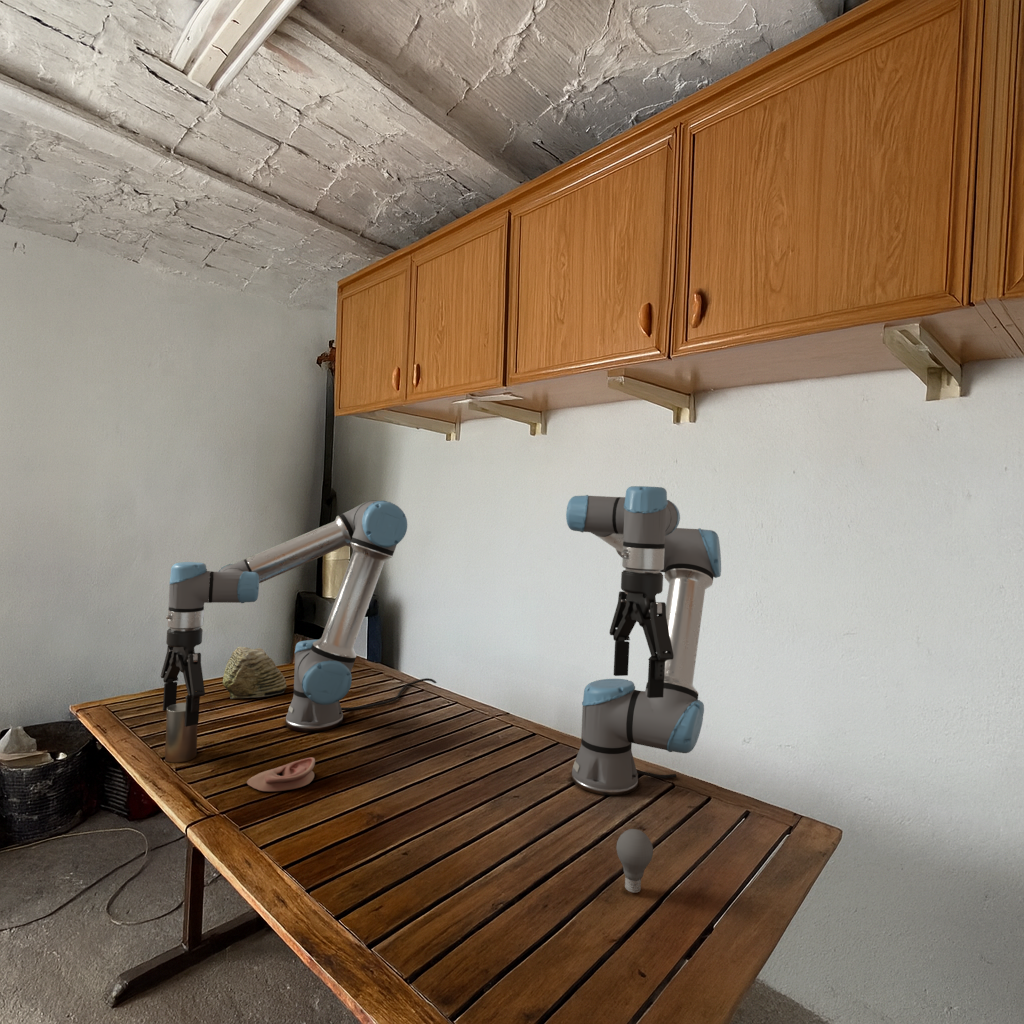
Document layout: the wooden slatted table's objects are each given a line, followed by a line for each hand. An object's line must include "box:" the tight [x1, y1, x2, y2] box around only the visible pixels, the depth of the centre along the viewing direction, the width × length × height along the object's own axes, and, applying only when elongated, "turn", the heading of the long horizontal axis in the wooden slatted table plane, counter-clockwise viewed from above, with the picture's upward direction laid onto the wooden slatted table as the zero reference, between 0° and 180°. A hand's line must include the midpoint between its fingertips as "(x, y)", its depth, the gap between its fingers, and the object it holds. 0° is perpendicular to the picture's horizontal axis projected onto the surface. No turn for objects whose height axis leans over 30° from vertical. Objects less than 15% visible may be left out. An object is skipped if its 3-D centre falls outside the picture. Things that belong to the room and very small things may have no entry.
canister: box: [164, 702, 199, 763], centre depth 150 cm, size 7×7×12 cm
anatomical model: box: [246, 757, 316, 792], centre depth 140 cm, size 13×4×12 cm
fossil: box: [222, 646, 288, 699], centre depth 198 cm, size 9×18×15 cm, turn 132°
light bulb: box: [615, 828, 654, 894], centre depth 106 cm, size 6×6×10 cm
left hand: (180, 717), depth 150 cm, fingers open, 13 cm apart
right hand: (636, 685), depth 116 cm, fingers open, 13 cm apart
